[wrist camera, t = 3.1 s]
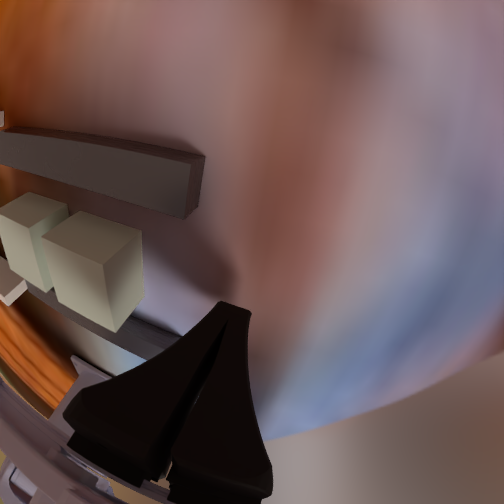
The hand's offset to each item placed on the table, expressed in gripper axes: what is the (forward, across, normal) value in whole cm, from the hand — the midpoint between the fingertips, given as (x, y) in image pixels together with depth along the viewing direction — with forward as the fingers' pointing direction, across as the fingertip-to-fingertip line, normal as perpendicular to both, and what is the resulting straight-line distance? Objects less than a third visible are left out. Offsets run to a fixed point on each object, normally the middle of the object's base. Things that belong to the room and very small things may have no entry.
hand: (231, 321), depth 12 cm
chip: (+1, +12, 0) cm, 12 cm away
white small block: (+1, +7, 0) cm, 7 cm away
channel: (+1, +9, 0) cm, 9 cm away
